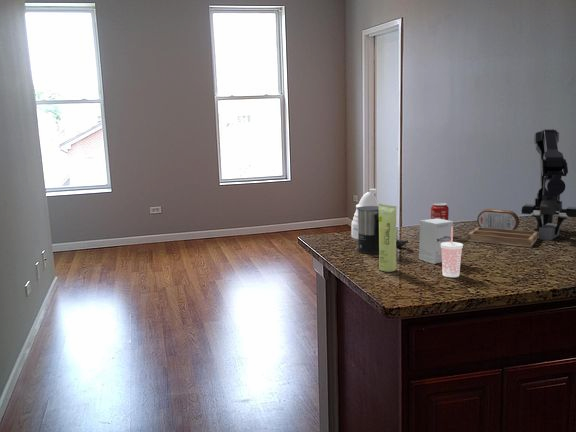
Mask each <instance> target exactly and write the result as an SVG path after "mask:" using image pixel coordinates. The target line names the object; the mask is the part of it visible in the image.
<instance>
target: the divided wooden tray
mask: <svg viewBox="0 0 576 432" xmlns="http://www.w3.org/2000/svg"><path fill="white" fill-rule="evenodd" d="M538 239H539V231H530V230H519V229H515V230H508V229H496V228H484V227H479V226H477V227H476V228H474V229H473V230H471V231H470V232H469V233H467V242H475V243H486V244H494V245H495V244H496V245H504V246H505V245H507V246H517V247H525V248H526V247H527V248H531V247H532V246H533V245H534V244H535V243H536V242H537V240H538Z"/></svg>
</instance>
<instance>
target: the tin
mask: <svg viewBox="0 0 576 432" xmlns="http://www.w3.org/2000/svg"><path fill="white" fill-rule="evenodd" d="M476 221H477V224H478V227H484V228H496V229H508V230H517V229H518V227H519V225H520V218H519V216H518V214H517V213H516V212H514V211H513V210H508V209H495V208H485V209H483V210H481V212H479V214H478V216H477V218H476Z"/></svg>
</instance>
